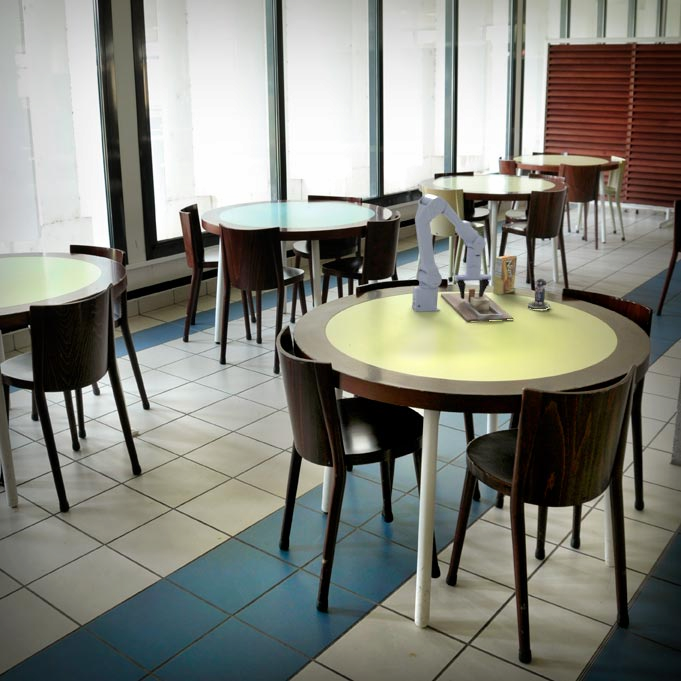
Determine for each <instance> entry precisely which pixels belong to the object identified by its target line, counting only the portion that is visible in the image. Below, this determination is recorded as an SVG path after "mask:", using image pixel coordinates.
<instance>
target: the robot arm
mask: <svg viewBox="0 0 681 681" xmlns="http://www.w3.org/2000/svg"><path fill="white" fill-rule="evenodd" d="M417 203H418V207H417V211H416V214H415V217H414V222H415V223H414V224H415V230H416V231H415V232H416V239H417V245H418V253H419V262H420V263H419V264H418V265H417V273H416V279H417V280H418V282H419V284H418V286H414V287H413V289H412V301H411V302H412V303H411V307H412V309H414V310H415V311H416V312H437V311H438V312H440V311H441V308H439V307H438V294H439V292H438V291H439V286H440V285H441V284H442V280H443V278H442V275H441V273H440V271H439V268H438V266H437V263H436V261H435V255H434V254H435V253H434V247H433V246H434V245H433V238H432V230H431V229H432V228H431V222H432V221H433V219H435V218H437V216H439V215H440V214H442V215H444V217H445V218H446V219H448V221H449V222H450V223H451V224H452V225H453V226H454V228H455V229H454V231H455V233H456V234H457V235H458V236H459V237H460V238H461V239H462V240H463V242H464V245H465V246H466V247H467V251H466V266H465V273H464V274H457V275H454V277H453V278H454V282H456V284H457V286H458V290H459V293H460V294H461V298H462V299H464V293H465V290H466V285H467V283H466V281H469V282H470V281H478V283H479V285H478V286H479V291H478V293H479V297H483V294H485V291H486V289H487V287H488V286H489V283H490V281H492V275H491V274H486V273H485V274H481V271H482V270H481V269H482V268H481V267H482V256H483V255H482V254H483V250H484V248H486V241H485V239H484V237H483V236H481V235H479V231H478V230H476V229H474V228H473V227H472V223H471V222H470V221H467V220H462V219H461V217H459V215H458V214H457V213H456V212H455V210H454V209H453V207H451V205H450V203H449V202H447V201H446V200H445V198H444V197H442V196H437V195H435V194H431V193H428V192H427V193H425V194H423V195H422V196H421V197H420V198H419V199H418V201H417Z"/></svg>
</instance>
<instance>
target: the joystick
mask: <svg viewBox="0 0 681 681" xmlns="http://www.w3.org/2000/svg"><path fill="white" fill-rule="evenodd" d="M468 293H469V298H468V301H469V302H470V305H471V306H472V307H473V308H474V309H475V310H476V311H481V310H489V304H490V300H489V299H488V298H487V297H475V293H476V288H470V287H469V288H468Z"/></svg>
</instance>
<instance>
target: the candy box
mask: <svg viewBox="0 0 681 681" xmlns="http://www.w3.org/2000/svg"><path fill="white" fill-rule="evenodd" d="M517 259H518V257H517V256H516V255H512V254H506V255H503V256H501V255H500V256H496V257H495V266H494V276H493V277H494V281H493V291H492V293H493V294H497V295H500V296H501V295H504V294H509V293H512V292H514V291H515V282H516V281H515V280H516V272H517V271H516V270H517ZM509 288H514V289H509ZM513 290H514V291H513Z"/></svg>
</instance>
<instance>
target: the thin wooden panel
mask: <svg viewBox="0 0 681 681" xmlns="http://www.w3.org/2000/svg"><path fill="white" fill-rule="evenodd" d="M475 297H479V292H475ZM483 297H487V298H488V299H489V300H490V304H489V310H481V311H476V310H475V309H474V308H473V307H472V306H471V305H470V302H469V301H468V298H469V292H464V299H462V298H461V294H460V292H459V293H458V292H457V293H453V292H451V293H440V298H442V299H443V300H444V301H445V302H446V303H447V304H448V305H449V306H450V307H451V309H453V310H454V311H455V312H456V313H457V314H458V315H459V317H461V318H462V319H463V320H464V321H465V322H466V323H472V322H471V321H484V322H490V321H489V320H507V319H513V320H514V317H513V315H511V314H509V313H508V312H507V311H506V310H505V309H503V308H502V307H501V306H500V305H499V304H498V303H497V302H495V301H494V300H492V298H490V297H489V296H488V295H487V294H485V293H484V294H483Z"/></svg>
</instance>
